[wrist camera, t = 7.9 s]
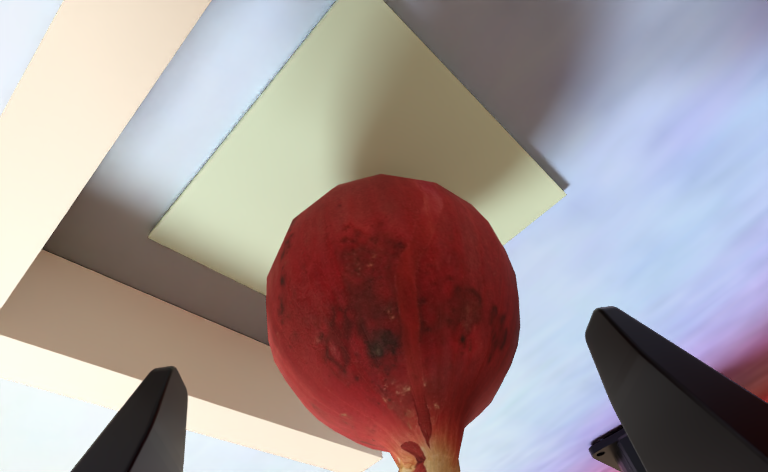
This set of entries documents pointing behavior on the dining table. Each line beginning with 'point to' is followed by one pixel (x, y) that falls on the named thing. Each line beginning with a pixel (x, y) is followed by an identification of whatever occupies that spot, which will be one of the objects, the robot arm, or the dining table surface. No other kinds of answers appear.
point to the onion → (394, 316)
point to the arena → (224, 202)
